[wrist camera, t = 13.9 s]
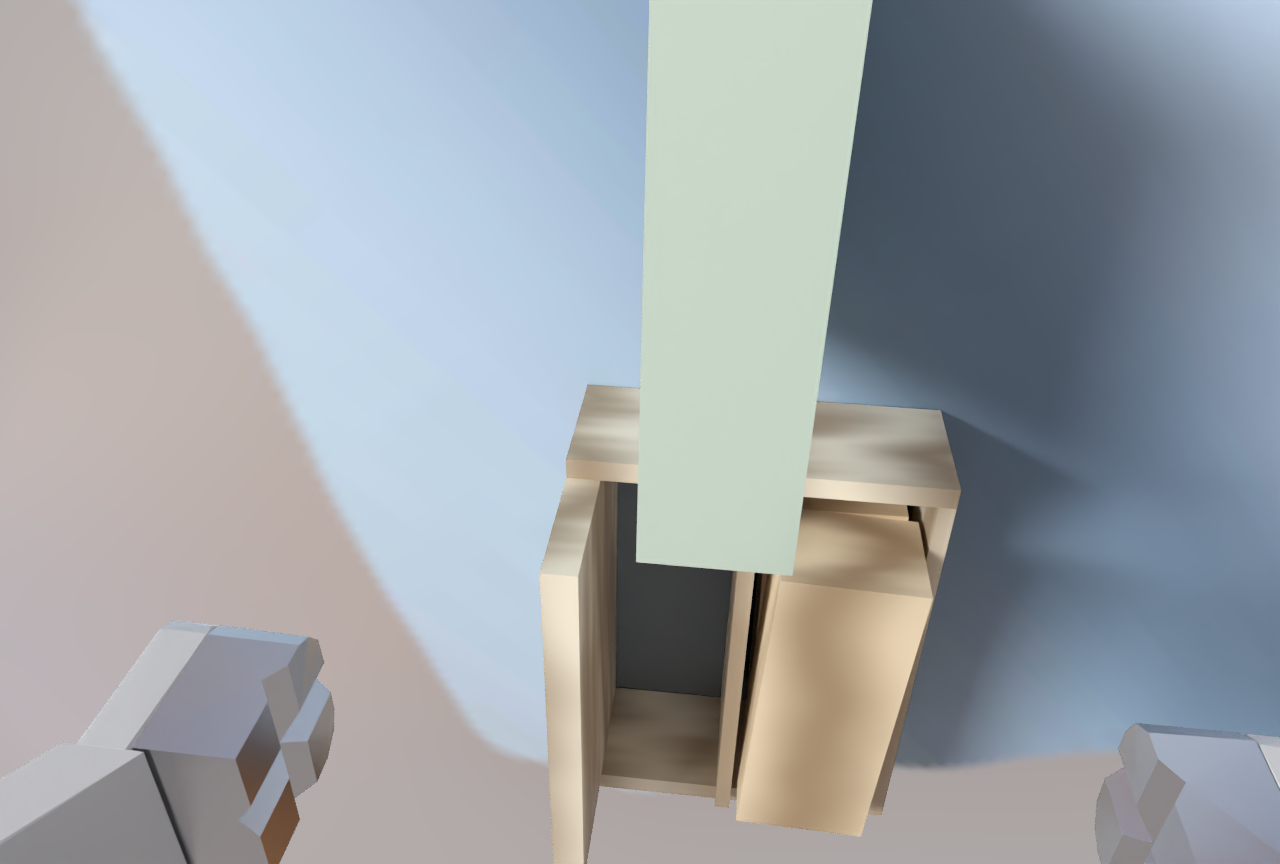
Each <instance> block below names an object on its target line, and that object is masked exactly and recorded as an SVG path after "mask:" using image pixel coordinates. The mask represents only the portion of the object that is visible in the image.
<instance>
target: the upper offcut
mask: <svg viewBox="0 0 1280 864" xmlns="http://www.w3.org/2000/svg"><path fill="white" fill-rule="evenodd" d="M932 601H933V596H932V590H931V585H930V580H929V575H928V570H927V564H926V559H925V554H924V549H923V543H922V538H921V533H920V528H919V522H913V521H904V520H895V519H886V518H877V517H869V516H860V515H851V514H842V513H833V512H824V511H816V510H807V509H802V511H801V518H800V526H799V533H798V540H797V547H796V554H795V562H794V569H793V576H789V575H777V574H768V576H767V582H766V588H765V593H764V599H763V605H762V610H761V616H760V622H759V627H758V633H757V639H756V644H755V650H754V656H753V662H752V667H751V673H750V679H749V684H748V690H747V696H746V701H745V707H744V713H743V719H742V724H741V730H740V736H739V746H738V777H737V808H736V809H737V810H736V811H737V812H736V820H737V821H745V822H753V823H760V824H769V825H776V826H784V827H791V828H799V829H806V830H815V831H823V832H830V833H837V834H845V835H853V836H861V834H862V831H863V828H864V824H865V821H866V817H867V814H868V811H869V808H870V805H871V801H872V798H873V795H874V791H875V788H876V785H877V782H878V778H879V775H880V772H881V768H882V765H883V762H884V759H885V755H886V752H887V749H888V745H889V742H890V739H891V736H892V732H893V729H894V726H895V722H896V719H897V716H898V713H899V709H900V706H901V703H902V699H903V696H904V693H905V690H906V686H907V683H908V680H909V676H910V673H911V670H912V667H913V663H914V660H915V657H916V653H917V650H918V647H919V644H920V640H921V637H922V634H923V630H924V627H925V624H926V621H927V617H928V614H929V611H930V607H931V604H932Z"/></svg>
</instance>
